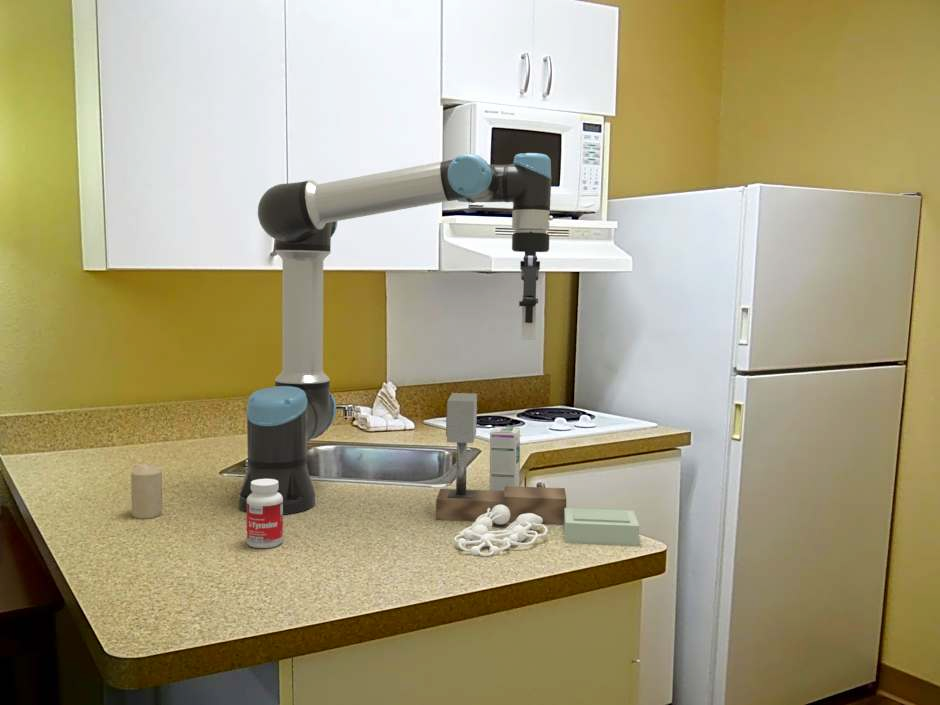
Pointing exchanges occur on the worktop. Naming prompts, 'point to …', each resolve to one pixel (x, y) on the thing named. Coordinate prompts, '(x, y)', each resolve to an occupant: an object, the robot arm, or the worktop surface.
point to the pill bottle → (264, 514)
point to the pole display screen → (461, 431)
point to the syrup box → (504, 458)
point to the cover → (601, 526)
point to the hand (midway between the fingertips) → (528, 337)
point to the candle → (146, 491)
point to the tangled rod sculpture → (499, 516)
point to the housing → (503, 503)
